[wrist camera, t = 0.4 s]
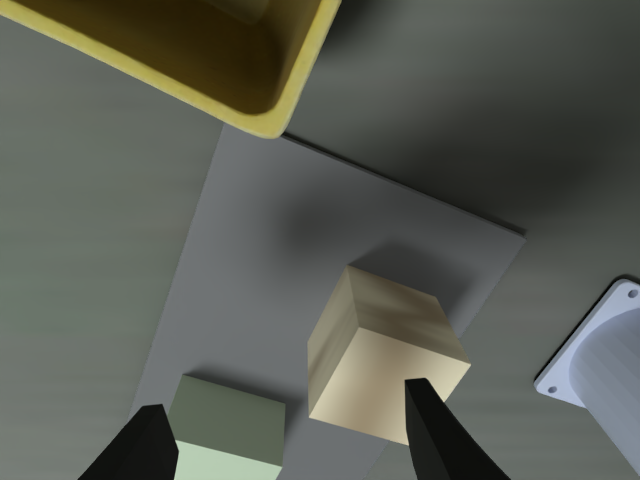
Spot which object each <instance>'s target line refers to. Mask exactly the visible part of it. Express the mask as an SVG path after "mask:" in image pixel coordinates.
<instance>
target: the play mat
mask: <svg viewBox="0 0 640 480" xmlns="http://www.w3.org/2000/svg"><path fill="white" fill-rule="evenodd" d="M526 241H527V239H526V238H525V237H524V236H523V235H522V234H520V233H517V232H515V231H512V230H510V229H507V228H505V227H503V226H500V225H498V224H495V223H493V222H491V221H488V220H486V219H483V218H481V217H479V216H476V215H474V214H471V213H469V212H467V211H464V210H462V209H459V208H457V207H455V206H452V205H450V204H447V203H445V202H443V201H440V200H438V199H435V198H433V197H431V196H428V195H426V194H423V193H421V192H419V191H416V190H414V189H411V188H409V187H407V186H404V185H402V184H399V183H397V182H395V181H392V180H390V179H387V178H385V177H383V176H380V175H378V174H375V173H373V172H371V171H368V170H366V169H363V168H361V167H359V166H356V165H354V164H351V163H349V162H347V161H344V160H342V159H339V158H337V157H335V156H332V155H330V154H327V153H325V152H323V151H320V150H318V149H315V148H313V147H311V146H308V145H306V144H303V143H301V142H299V141H296V140H294V139H291V138H289V137H287V136H284V135H282V134H281V136H280V137H279V138H275V139H265V138H261V137H258V136H255V135H252V134H250V133H247V132H244V131H242V130H240V129H238V128H236V127H234V126H232V125H230V124H228V123H226V122H224V125H223V128H222V131H221V134H220V137H219V140H218V143H217V146H216V149H215V152H214V156H213V159H212V162H211V165H210V168H209V171H208V174H207V177H206V180H205V183H204V186H203V189H202V192H201V195H200V198H199V201H198V205H197V208H196V211H195V214H194V217H193V220H192V223H191V226H190V229H189V232H188V235H187V238H186V241H185V244H184V247H183V250H182V254H181V257H180V260H179V263H178V266H177V269H176V272H175V275H174V278H173V281H172V284H171V287H170V290H169V293H168V296H167V299H166V303H165V306H164V309H163V312H162V315H161V318H160V321H159V324H158V327H157V330H156V333H155V336H154V339H153V342H152V345H151V348H150V352H149V355H148V358H147V361H146V364H145V367H144V370H143V373H142V376H141V379H140V382H139V385H138V388H137V391H136V394H135V398H134V401H133V404H132V407H131V410H130V413H129V416H128V419H127V422H126V424H127V423H128V422H129V421H130V419H131V418H132V417H133V416H134V415H135V414H136V412H137V411H138V410H139V409H140V408H141V407H142V406H145V405H155V404H163V406H164V409H165V412H166V415H167V414H168V411H169V408H170V406H171V403H172V400H173V398H174V395H175V392H176V390H177V387H178V384H179V382H180V379H181V376H182V374H183V375H186V376H190V377H193V378H197V379H200V380H204V381H207V382H211V383H214V384H218V385H221V386H225V387H228V388H232V389H235V390H239V391H242V392H246V393H249V394H253V395H256V396H260V397H264V398H267V399H271V400H274V401H278V402H281V403H285V426H284V447H283V467H282V469H281V471H280V473H279V474H278V476H277V478H276V480H363V479H364V478H365V476H366V475H367V474H368V472H369V471H370V469H371V468H372V466H373V465H374V463H375V462H376V460H377V459H378V457H379V456H380V454H381V453H382V452H383V450H384V449H385V447H386V446H387V444H388V443H389V441H390V440H387V439H384V438H380V437H377V436H373V435H370V434H366V433H362V432H359V431H355V430H352V429H348V428H345V427H341V426H338V425H334V424H330V423H327V422H323V421H320V420H316V419H313V418H309V403H308V344H307V342H308V340H309V338H310V336H311V334H312V332H313V330H314V328H315V326H316V324H317V322H318V320H319V318H320V316H321V314H322V312H323V310H324V308H325V306H326V304H327V303H328V301H329V299H330V297H331V295H332V293H333V291H334V289H335V287H336V285H337V283H338V281H339V279H340V277H341V275H342V273H343V271H344V269H345V267H346V265H349V266H352V267H355V268H357V269H360V270H363V271H366V272H368V273H371V274H374V275H377V276H379V277H382V278H385V279H388V280H390V281H393V282H396V283H399V284H401V285H404V286H407V287H410V288H412V289H415V290H418V291H421V292H423V293H426V294H429V295H432V296H434V297H436V298H437V300H438V302H439V304H440V306H441V308H442V310H443V311H444V313H445V315H446V317H447V319H448V321H449V323H450V325H451V327H452V329H453V331H454V332H455V334H456V336H457V338H458V340H459V339H460V337H461V336H462V334H463V333H464V331H465V330H466V328H467V327H468V326H469V324H470V323H471V321H472V320H473V318H474V317H475V315H476V314H477V312H478V311H479V309H480V308H481V306H482V305H483V304H484V302H485V301H486V299H487V298H488V296H489V295H490V293H491V292H492V290H493V289H494V287H495V286H496V285H497V283H498V282H499V280H500V279H501V277H502V276H503V274H504V273H505V271H506V270H507V268H508V267H509V265H510V264H511V263H512V261H513V260H514V258H515V257H516V255H517V254H518V252H519V251H520V249H521V248H522V246H523V245H524V243H525V242H526Z"/></svg>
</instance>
